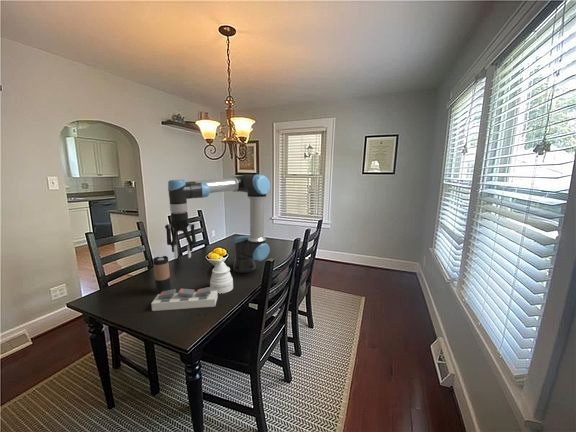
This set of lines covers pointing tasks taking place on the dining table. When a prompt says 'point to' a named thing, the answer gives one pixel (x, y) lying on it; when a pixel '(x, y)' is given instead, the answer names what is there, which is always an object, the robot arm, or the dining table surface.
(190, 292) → the rocker mid
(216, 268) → the honey pot
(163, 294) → the rocker
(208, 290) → the rocker
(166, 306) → the power strip
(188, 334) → the dining table surface
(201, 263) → the dining table surface
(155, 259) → the travel mug
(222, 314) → the dining table surface
